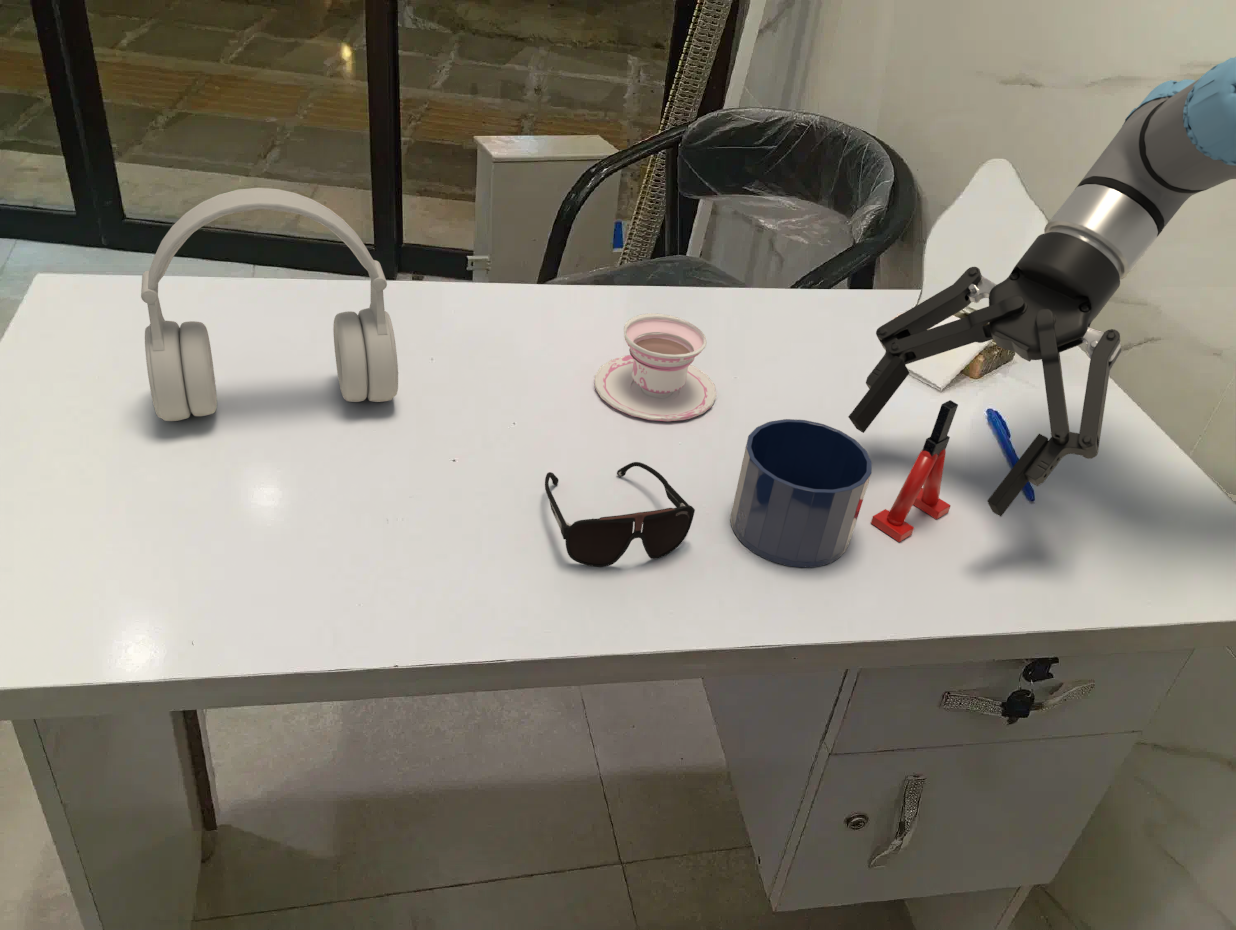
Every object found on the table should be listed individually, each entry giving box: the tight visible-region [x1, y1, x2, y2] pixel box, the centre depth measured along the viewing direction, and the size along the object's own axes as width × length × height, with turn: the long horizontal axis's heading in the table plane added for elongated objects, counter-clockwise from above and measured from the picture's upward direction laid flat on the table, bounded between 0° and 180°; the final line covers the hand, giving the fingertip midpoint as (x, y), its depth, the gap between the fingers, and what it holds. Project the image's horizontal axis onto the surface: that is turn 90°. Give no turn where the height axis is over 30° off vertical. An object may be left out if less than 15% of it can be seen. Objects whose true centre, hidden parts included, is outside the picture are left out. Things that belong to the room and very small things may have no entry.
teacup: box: [594, 312, 717, 422], centre depth 96 cm, size 12×12×6 cm
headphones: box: [140, 187, 399, 422], centre depth 83 cm, size 20×8×19 cm, turn 109°
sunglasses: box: [544, 461, 696, 568], centre depth 79 cm, size 10×12×5 cm
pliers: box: [870, 400, 959, 543], centre depth 81 cm, size 3×7×12 cm, turn 131°
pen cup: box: [730, 418, 873, 568], centre depth 80 cm, size 10×10×8 cm
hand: (921, 465), depth 81 cm, fingers open, 13 cm apart
